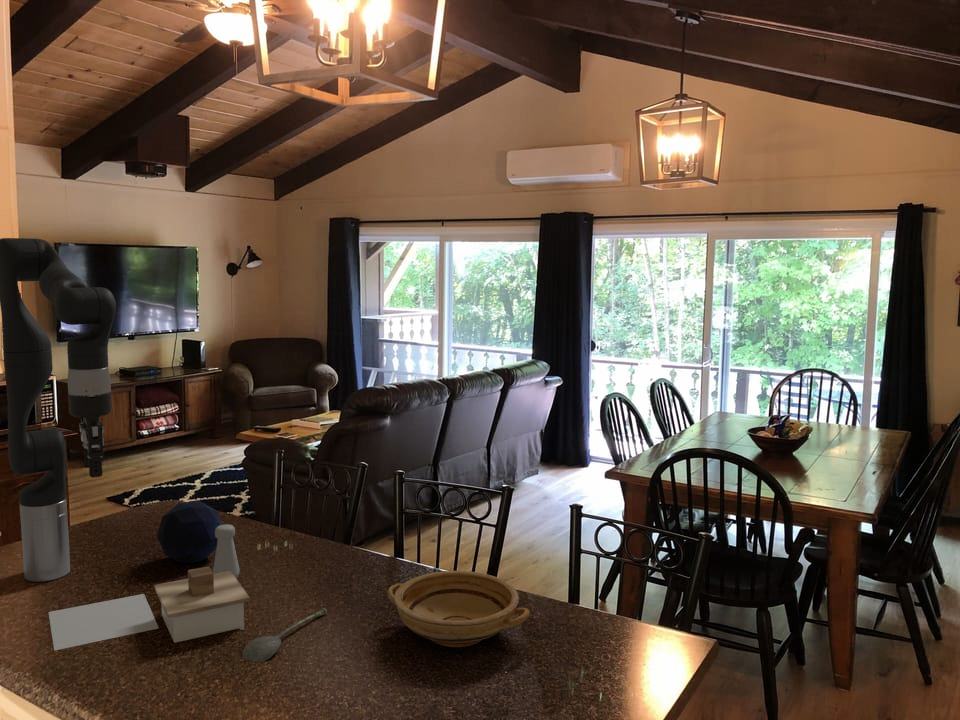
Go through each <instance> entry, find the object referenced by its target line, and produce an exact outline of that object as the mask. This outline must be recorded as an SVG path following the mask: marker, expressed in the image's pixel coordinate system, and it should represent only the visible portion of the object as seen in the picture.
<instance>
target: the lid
mask: <svg viewBox="0 0 960 720" xmlns="http://www.w3.org/2000/svg"><path fill="white" fill-rule="evenodd" d="M153 587H154V589H153V590H155V593H156V595H157V597H158V600H159V602H160V604H161V607H162V606H163V608H164V611H165V613H166V615H167V617H168V618H173V617H178V616H182V615H187V614H192V613H197V612H201V611H206V610H211V609H216V608H221V607H225V606H230V605H235V604H240V603H244V604H245V603H249V602H250V601H251V599H250V596H249V595H248V593H247V591H246V590H245V589H244V588H243V586H242V585H241V583H240V582H239V581H238V578H237V579H236V578H235V576H234V575H233V574H232V572H231V571H226V572H221V573H216V574H213V570H212V569H211V568H210V567H209V566H203V567H199V568H191V569H187V578H184V579H179V580H174V581H168V582H163V583H157V584H154V586H153Z"/></svg>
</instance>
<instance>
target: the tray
mask: <svg viewBox="0 0 960 720" xmlns="http://www.w3.org/2000/svg"><path fill="white" fill-rule="evenodd" d="M48 618H49V623H50V624H49V626H50V631H51V638H52V644H53V645H52V646H53V651H54V652H55V651H58V650H64V649H70V648H74V647H79V646H83V645H88V644H92V643H97V642H101V641H106V640H110V639H115V638H120V637H121V638H122V637H125V636H131V635H135V634H139V633H143V632H147V631H148V632H149V631H152V630H157V629H159V628H160V627H159V625H158V623H157V620H156V618H155V616H154V613H153V611H152V609H151V606H150V604H149V603H148V600H147V598H146V595H145V593H141V594H135V595H131V596H130V595H129V596H125V597H121V598H115V599H110V600H105V601H100V602H94V603H90V604H84V605H80V606H79V605H78V606H72V607H68V608H64V609H63V608H62V609H57V610H53V611H49V612H48Z"/></svg>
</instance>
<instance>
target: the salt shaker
mask: <svg viewBox="0 0 960 720" xmlns="http://www.w3.org/2000/svg"><path fill="white" fill-rule="evenodd" d="M235 535H236V528H235V526H233V524H222V525H220V526H218V527H217V528H216V529H215V537H216V538H218V541H217V548H216V550H215V555H214V556H215V557H214V561H213V566H212V567H213V568H212V572H213V574H216V573H221V572H226V571H231V572H232V574H233V575H234V576H235V578H236V579H237V580H238V578H239V575H240V570H241V569H240V565H239V562H238V560H239V559H238V557H237V551H236V547H235V542H234V537H235Z"/></svg>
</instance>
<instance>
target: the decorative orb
mask: <svg viewBox="0 0 960 720" xmlns="http://www.w3.org/2000/svg"><path fill="white" fill-rule="evenodd" d="M220 525H223V523H222V520H221V518H220V516H219V512H218V511H217V509H215V508H213V507H211V506H210V505H208V504H207V503H204V502H202V501H201V500H195V501H184V502H178V503H177V504H175V505H174V507H172V508H171V509H170V510H169V511H167V512H166V513H165V514H163V515H162V516H161V520H160V524H159V527H158V531H157V534H156V537H157V540H158V542H159V545H160V547H161V549H162V552H163V554H164V555H165V556H167V557H168V558H171V559H172V560H174V561H176V562H178V563H179V564H194V563H199V562H203V561H204V560H205V559H206V558H208V557H209V556H210V555H212V554H213V552H216V548H217V541H218V538H216V537H215V529H216V528H217V527H218V526H220Z"/></svg>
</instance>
